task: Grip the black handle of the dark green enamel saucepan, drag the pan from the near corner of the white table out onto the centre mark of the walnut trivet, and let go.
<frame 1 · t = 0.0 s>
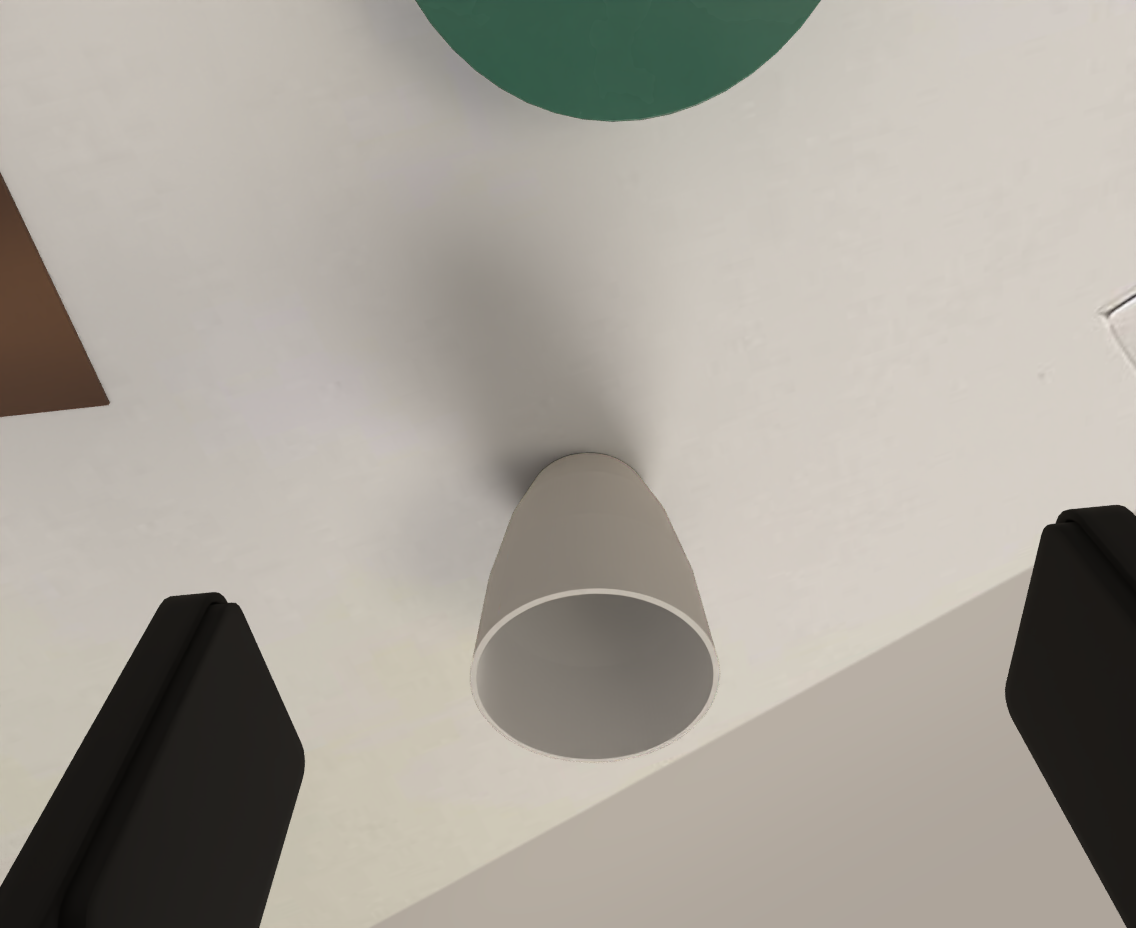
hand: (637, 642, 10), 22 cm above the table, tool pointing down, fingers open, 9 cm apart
cup: (586, 499, 36), on the table
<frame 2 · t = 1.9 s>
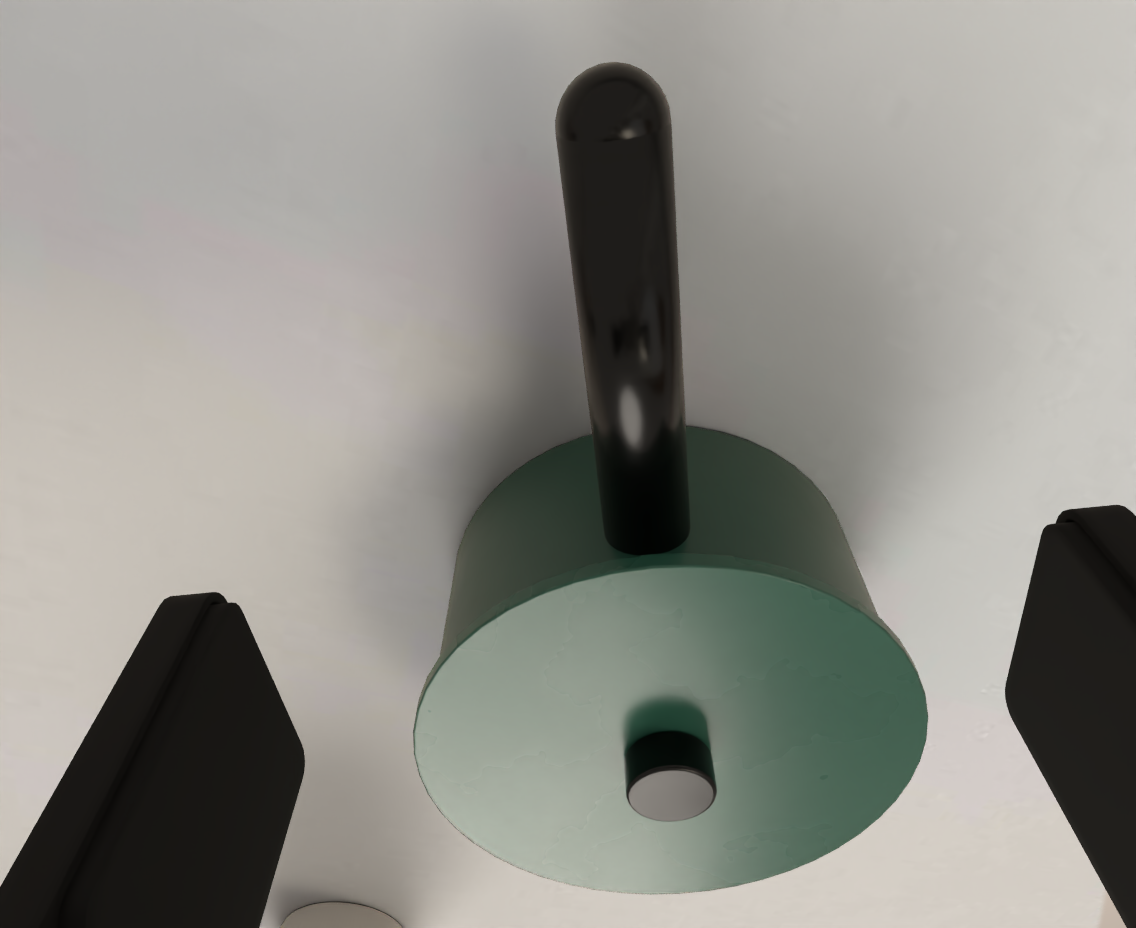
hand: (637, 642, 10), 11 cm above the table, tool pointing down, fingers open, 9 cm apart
saucepan: (649, 589, 24), on the table
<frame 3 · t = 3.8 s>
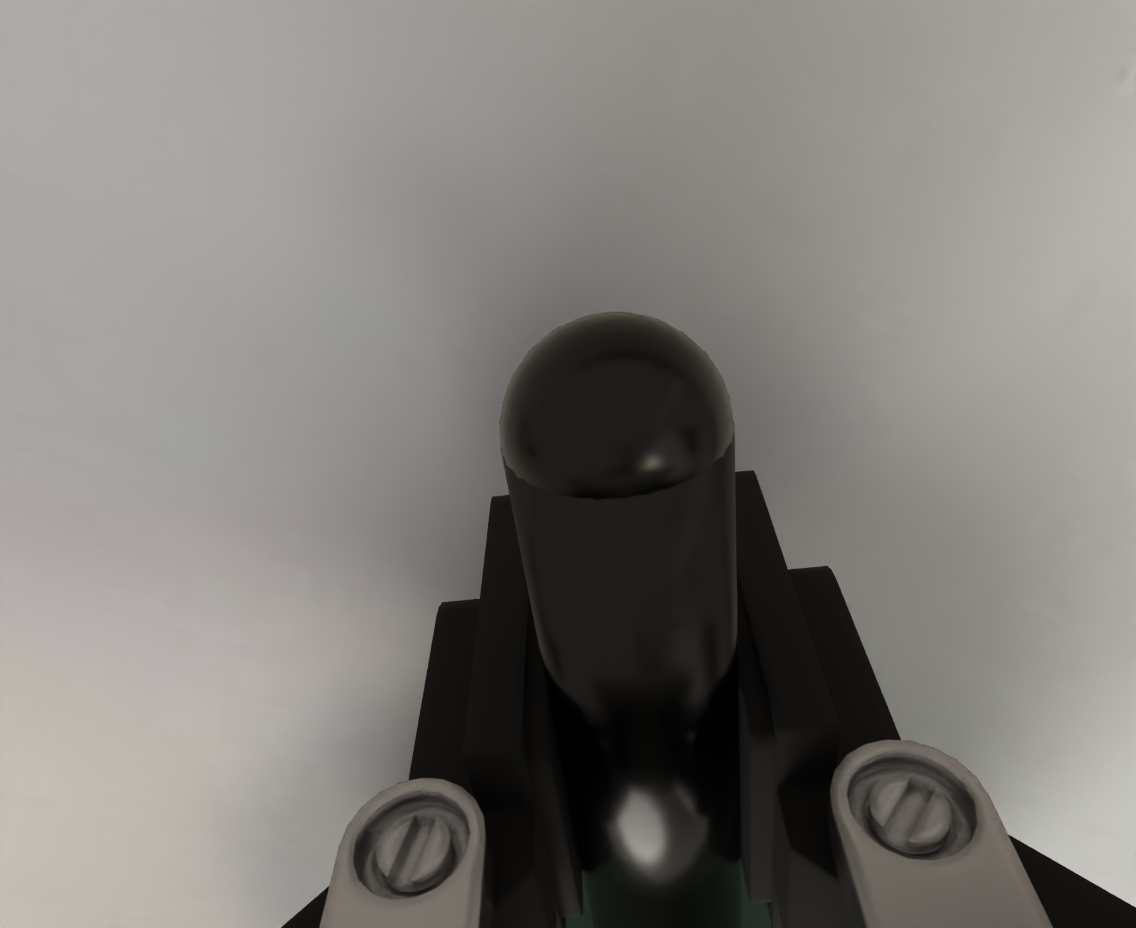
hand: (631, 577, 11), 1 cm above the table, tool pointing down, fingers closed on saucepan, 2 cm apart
saucepan: (664, 892, 17), on the table, touching gripper
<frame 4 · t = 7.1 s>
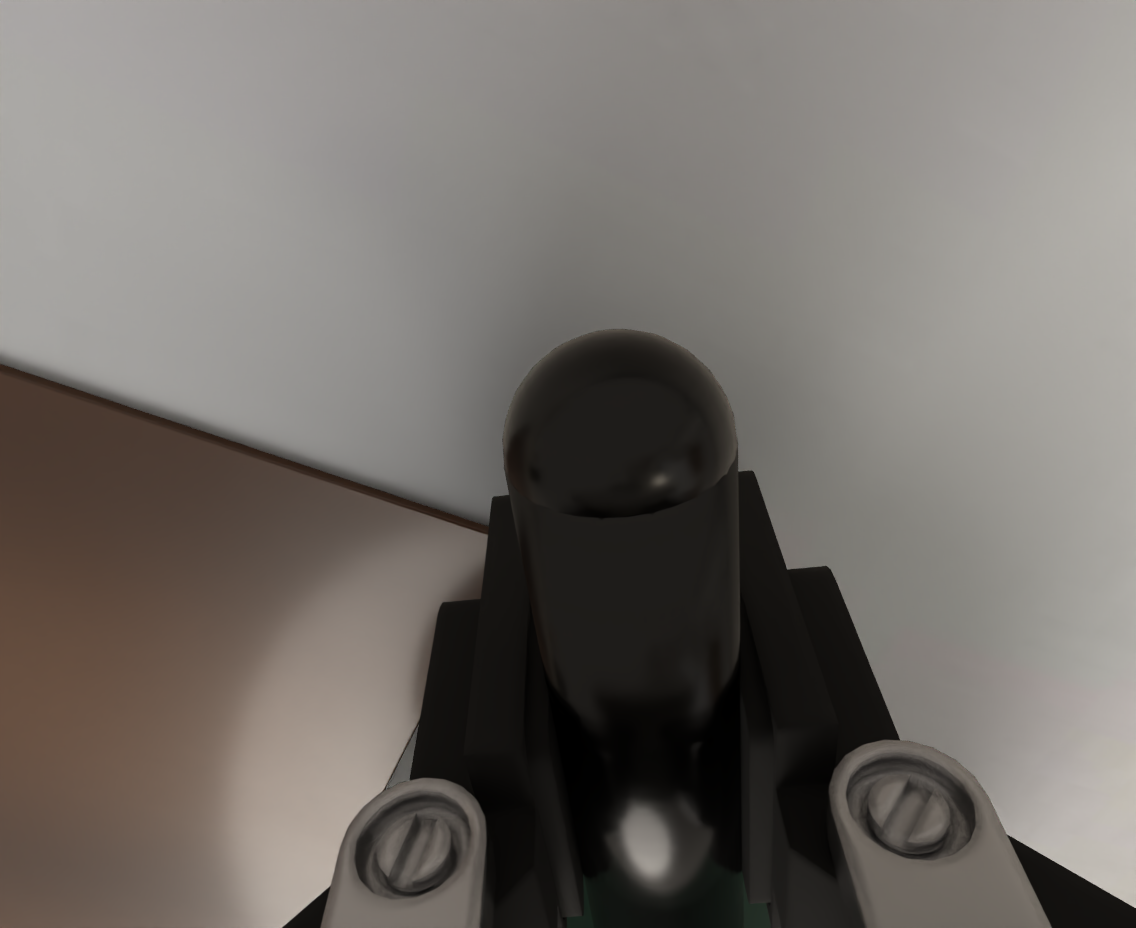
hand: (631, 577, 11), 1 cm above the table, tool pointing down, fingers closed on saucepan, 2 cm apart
saucepan: (665, 899, 17), on the table, touching gripper
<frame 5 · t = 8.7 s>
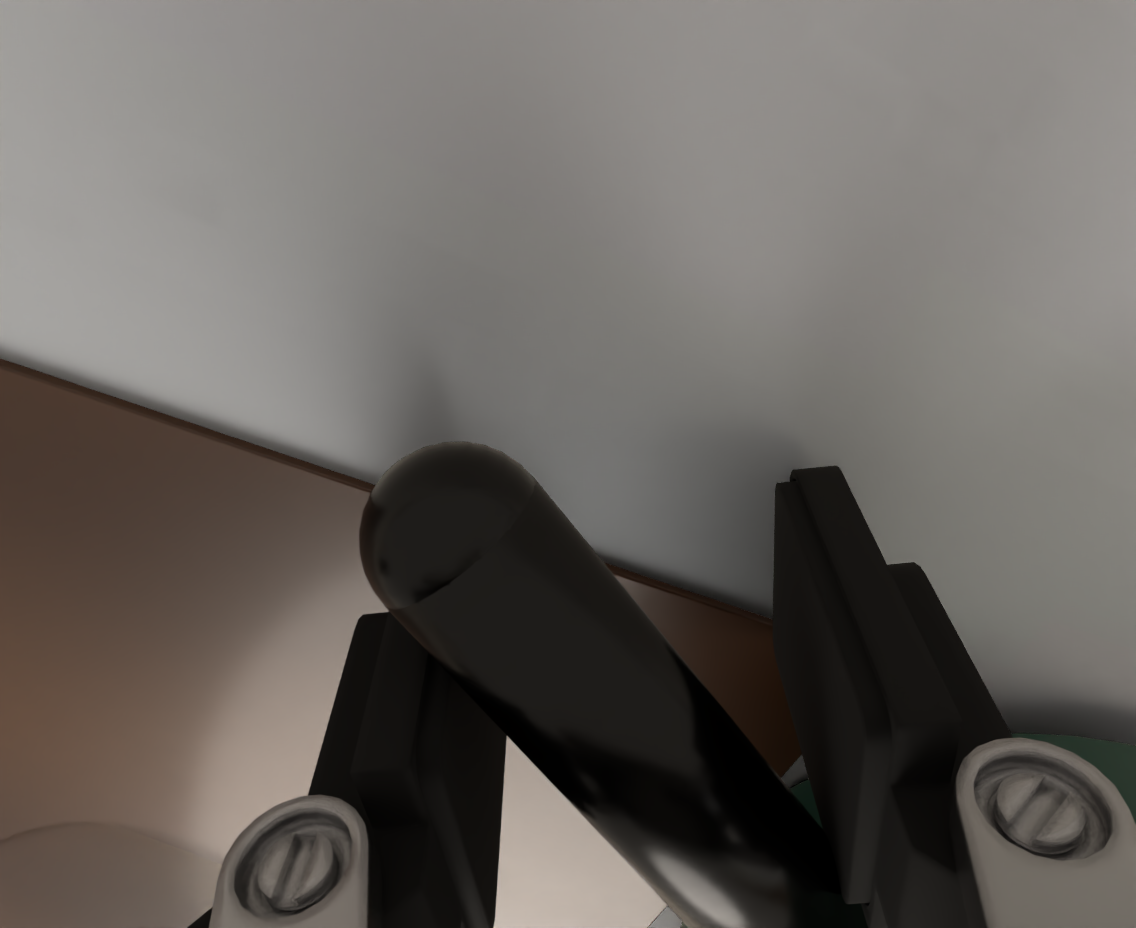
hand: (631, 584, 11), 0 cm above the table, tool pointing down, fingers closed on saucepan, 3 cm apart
trivet: (124, 905, 15), on the table
when the fingers open (1 cm above the table, at t = 10.3 s): saucepan drops 2 cm, resting on trivet.
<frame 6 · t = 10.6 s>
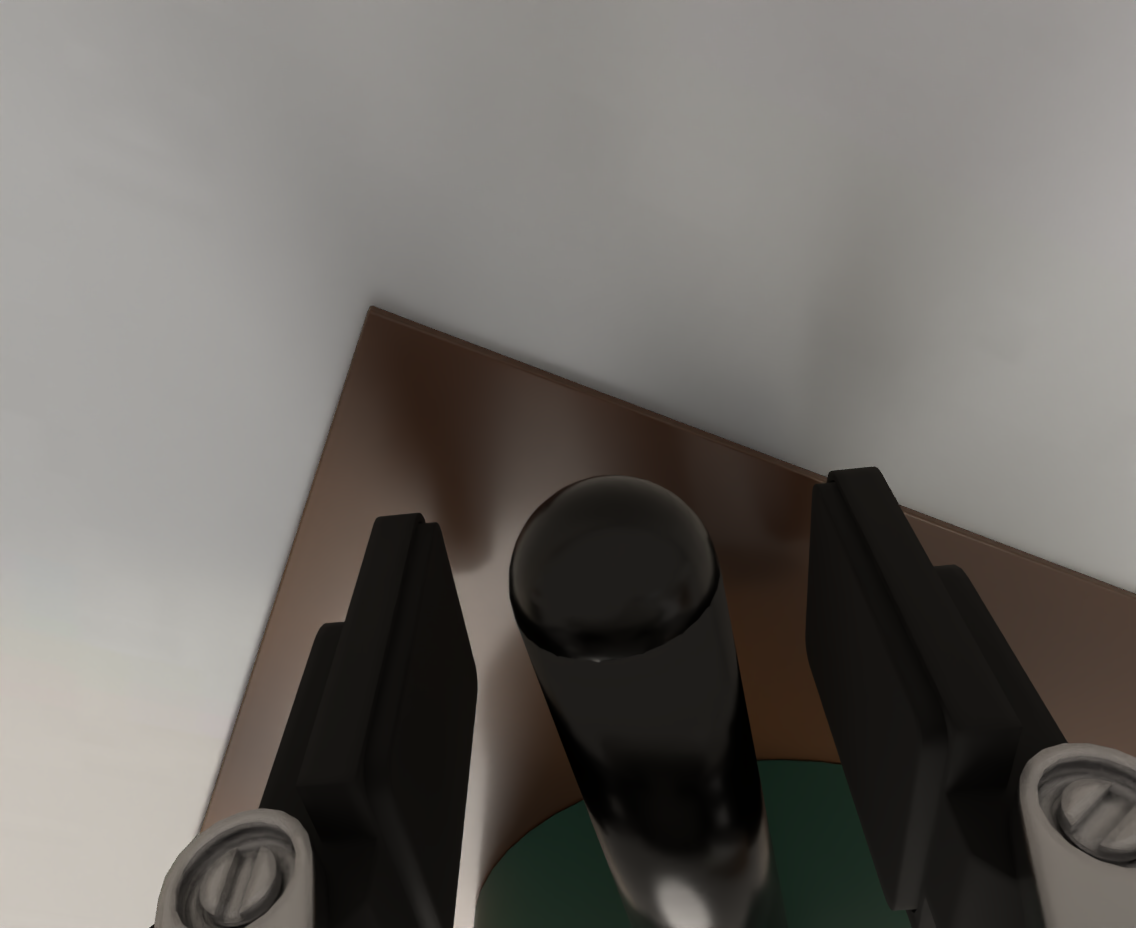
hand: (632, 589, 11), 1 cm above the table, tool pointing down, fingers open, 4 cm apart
trivet: (663, 893, 17), on the table
saucepan: (737, 927, 18), resting on trivet
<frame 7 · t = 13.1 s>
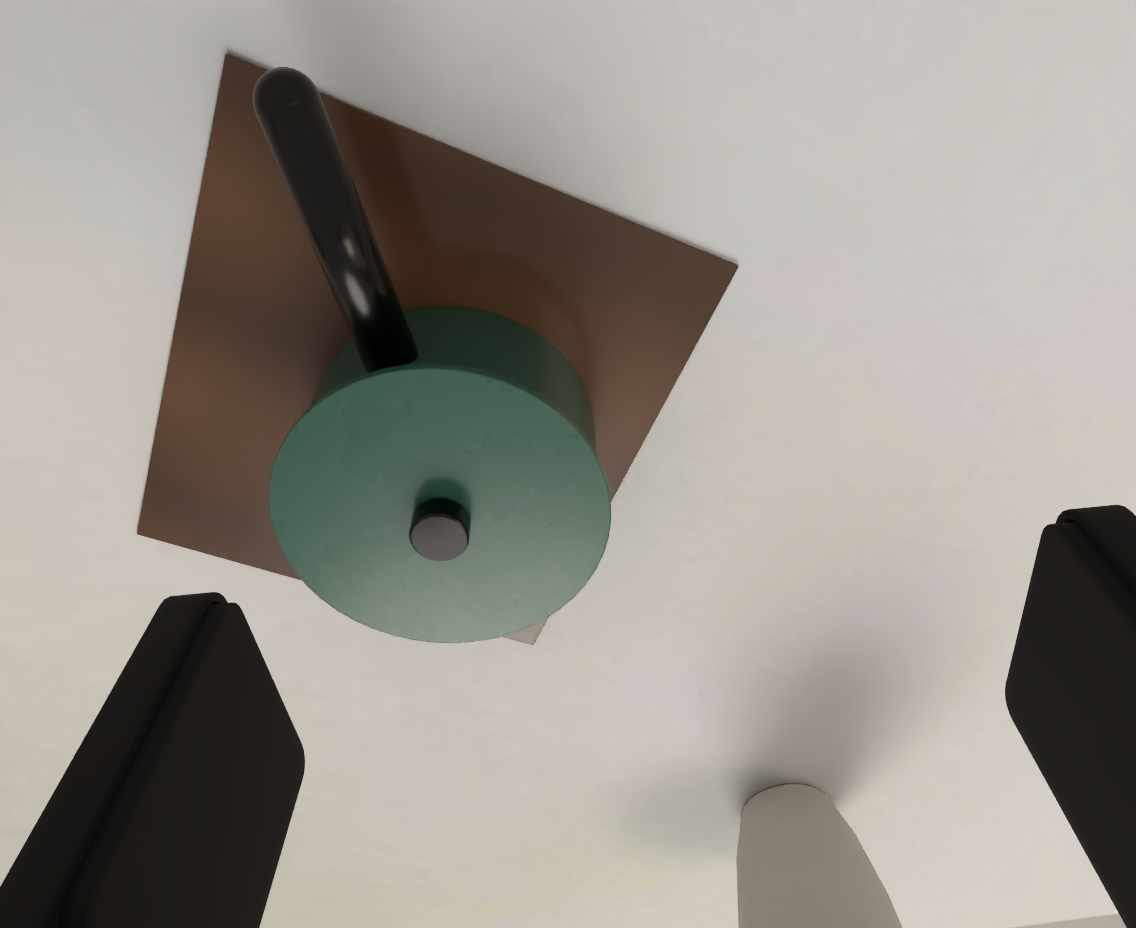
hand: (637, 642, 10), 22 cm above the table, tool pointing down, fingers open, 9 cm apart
trivet: (412, 410, 33), on the table
cup: (785, 808, 48), on the table
saucepan: (455, 435, 34), resting on trivet
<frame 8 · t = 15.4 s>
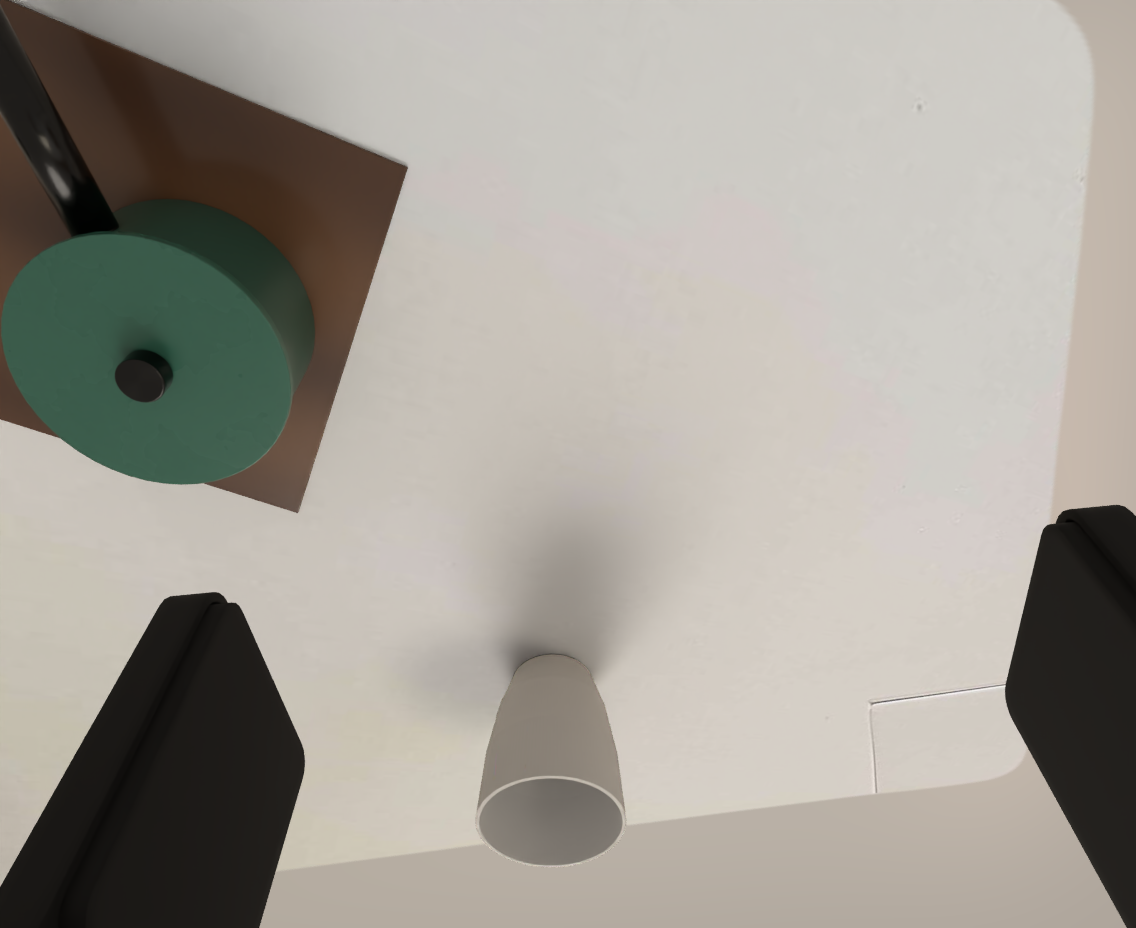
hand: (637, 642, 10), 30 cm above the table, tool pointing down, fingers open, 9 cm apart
trivet: (157, 292, 40), on the table
cup: (552, 679, 54), on the table
saucepan: (196, 315, 40), resting on trivet
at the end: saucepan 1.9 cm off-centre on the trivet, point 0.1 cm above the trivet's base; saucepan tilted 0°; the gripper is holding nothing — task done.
